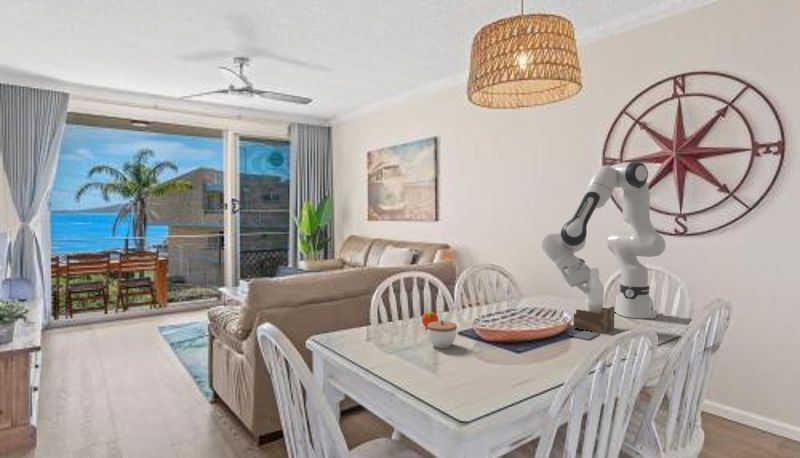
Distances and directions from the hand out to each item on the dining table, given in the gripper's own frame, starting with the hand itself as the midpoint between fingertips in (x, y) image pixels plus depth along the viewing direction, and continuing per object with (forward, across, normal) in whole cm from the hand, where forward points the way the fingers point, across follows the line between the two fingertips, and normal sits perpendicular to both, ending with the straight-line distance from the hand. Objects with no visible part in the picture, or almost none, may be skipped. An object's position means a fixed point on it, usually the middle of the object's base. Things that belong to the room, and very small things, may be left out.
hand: (592, 291), depth 189 cm
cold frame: (+12, 0, +10) cm, 16 cm away
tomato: (-23, -48, +45) cm, 70 cm away
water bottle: (+12, 0, +10) cm, 16 cm away
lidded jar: (-9, -63, +32) cm, 71 cm away
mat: (+12, -14, +10) cm, 21 cm away
